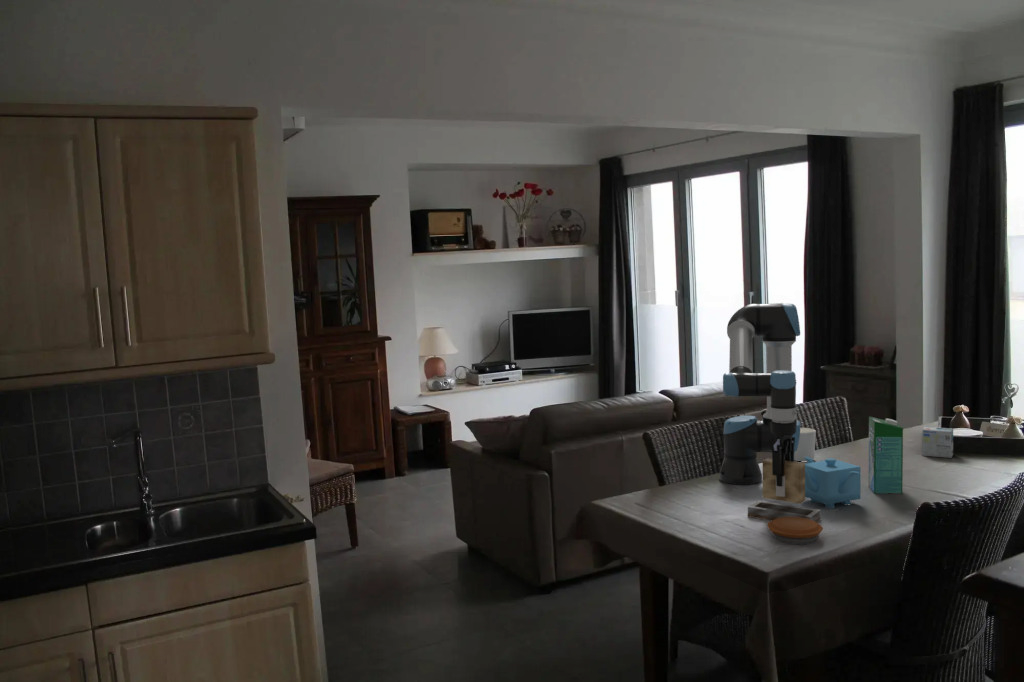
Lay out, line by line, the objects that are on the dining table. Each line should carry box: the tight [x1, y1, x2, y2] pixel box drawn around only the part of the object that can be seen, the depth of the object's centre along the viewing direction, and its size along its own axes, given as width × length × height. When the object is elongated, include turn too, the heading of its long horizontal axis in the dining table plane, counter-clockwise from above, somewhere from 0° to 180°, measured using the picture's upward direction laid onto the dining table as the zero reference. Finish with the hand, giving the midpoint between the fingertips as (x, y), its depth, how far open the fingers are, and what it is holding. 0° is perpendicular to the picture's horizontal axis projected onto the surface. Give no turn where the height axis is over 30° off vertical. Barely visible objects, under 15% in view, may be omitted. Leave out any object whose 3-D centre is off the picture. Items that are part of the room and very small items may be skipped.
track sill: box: [747, 500, 822, 523], centre depth 264 cm, size 20×9×3 cm, turn 51°
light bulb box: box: [921, 426, 954, 459], centre depth 335 cm, size 11×7×11 cm, turn 58°
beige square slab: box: [762, 457, 806, 505], centre depth 263 cm, size 12×4×12 cm, turn 51°
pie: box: [767, 517, 824, 545], centre depth 246 cm, size 15×16×5 cm
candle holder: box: [794, 427, 817, 462], centre depth 336 cm, size 10×10×12 cm
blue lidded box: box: [804, 457, 862, 509], centre depth 278 cm, size 19×19×15 cm
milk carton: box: [868, 416, 904, 495], centre depth 289 cm, size 9×9×25 cm
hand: (783, 493), depth 264 cm, fingers closed on beige square slab, 4 cm apart
